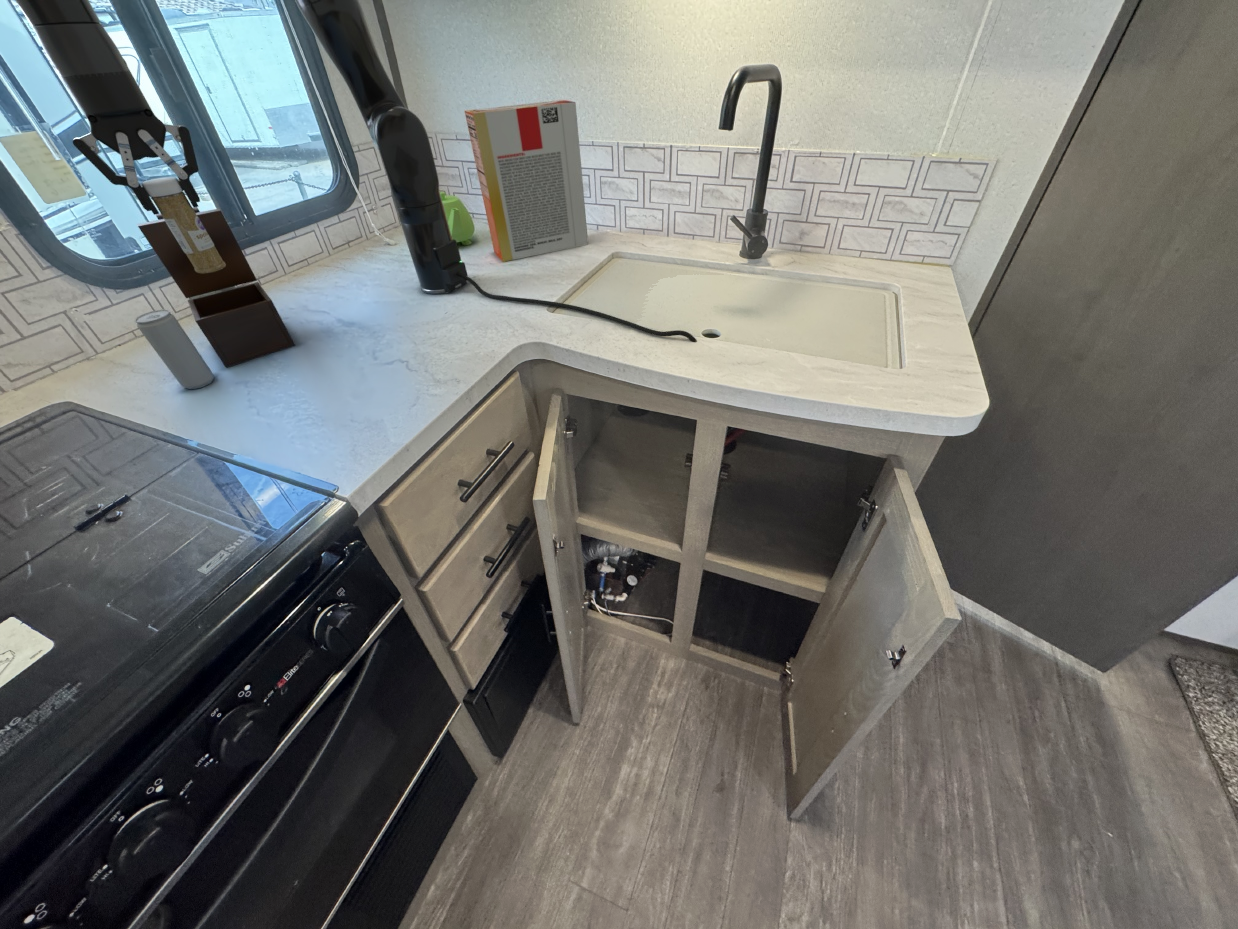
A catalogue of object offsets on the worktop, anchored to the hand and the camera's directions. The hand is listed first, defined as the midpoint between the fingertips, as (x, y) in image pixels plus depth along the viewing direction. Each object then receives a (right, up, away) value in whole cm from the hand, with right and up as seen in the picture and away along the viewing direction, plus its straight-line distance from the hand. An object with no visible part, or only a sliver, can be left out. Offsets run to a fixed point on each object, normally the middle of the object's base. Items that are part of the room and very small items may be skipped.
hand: (176, 209), depth 77 cm
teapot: (+23, +21, +59) cm, 66 cm away
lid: (-3, -3, +9) cm, 10 cm away
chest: (0, -17, +17) cm, 24 cm away
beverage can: (-2, -26, +7) cm, 27 cm away
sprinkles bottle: (0, -7, +6) cm, 10 cm away
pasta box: (+49, +16, +51) cm, 73 cm away
